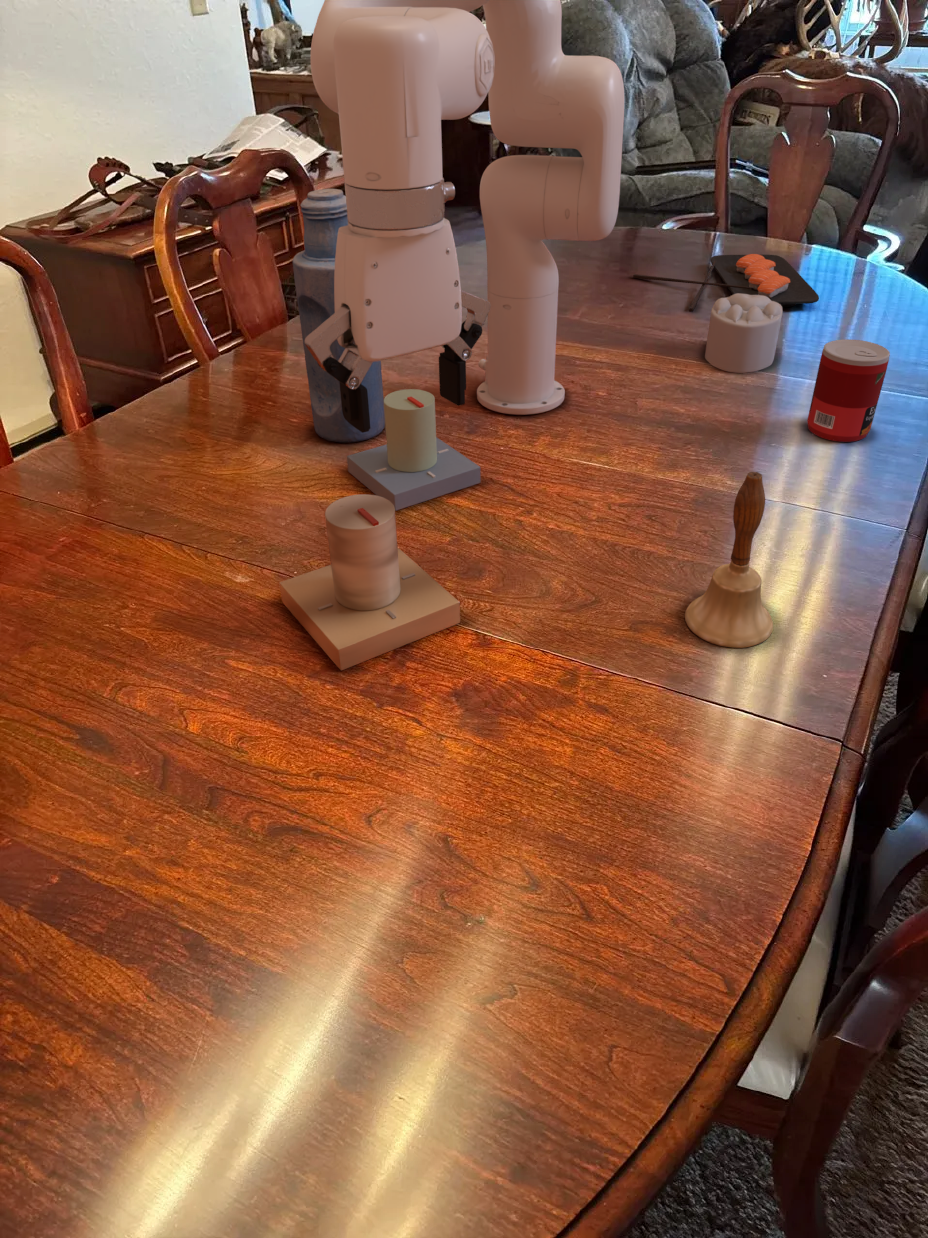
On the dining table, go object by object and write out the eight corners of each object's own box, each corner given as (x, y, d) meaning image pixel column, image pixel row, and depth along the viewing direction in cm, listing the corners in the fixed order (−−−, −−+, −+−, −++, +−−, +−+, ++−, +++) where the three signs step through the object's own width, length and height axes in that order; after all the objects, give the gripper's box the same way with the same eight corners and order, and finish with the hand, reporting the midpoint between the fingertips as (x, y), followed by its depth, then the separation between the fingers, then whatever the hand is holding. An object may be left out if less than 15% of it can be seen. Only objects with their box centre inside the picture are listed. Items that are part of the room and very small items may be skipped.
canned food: (873, 445, 119) (895, 362, 112) (808, 440, 120) (826, 358, 113) (864, 420, 125) (885, 340, 118) (803, 416, 126) (820, 337, 119)
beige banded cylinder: (323, 586, 90) (312, 503, 85) (380, 566, 93) (373, 484, 88) (353, 618, 86) (344, 533, 81) (412, 596, 89) (407, 512, 83)
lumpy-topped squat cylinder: (777, 346, 147) (787, 291, 142) (769, 376, 137) (780, 318, 132) (711, 339, 150) (719, 285, 145) (698, 368, 140) (706, 311, 135)
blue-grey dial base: (347, 471, 115) (346, 454, 114) (429, 447, 120) (429, 430, 119) (395, 511, 107) (394, 493, 106) (480, 482, 112) (480, 465, 111)
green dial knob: (379, 458, 113) (374, 394, 108) (421, 445, 116) (417, 382, 111) (403, 476, 109) (399, 411, 104) (446, 463, 112) (444, 398, 107)
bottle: (400, 426, 126) (385, 189, 108) (345, 451, 120) (320, 204, 102) (354, 407, 131) (332, 178, 113) (299, 430, 125) (267, 192, 107)
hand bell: (757, 658, 84) (791, 506, 75) (671, 630, 88) (693, 481, 78) (783, 612, 90) (818, 465, 80) (702, 588, 94) (726, 444, 84)
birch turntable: (282, 602, 93) (278, 580, 91) (394, 562, 98) (392, 541, 97) (340, 671, 84) (338, 648, 82) (460, 622, 90) (459, 600, 88)
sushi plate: (822, 311, 160) (827, 289, 158) (649, 314, 161) (651, 292, 158) (778, 263, 183) (782, 243, 181) (627, 265, 184) (629, 245, 182)
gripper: (461, 184, 78) (464, 378, 88) (272, 213, 70) (299, 422, 80) (513, 199, 73) (510, 404, 83) (316, 232, 65) (339, 453, 75)
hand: (406, 413), depth 82 cm, fingers open, 9 cm apart
